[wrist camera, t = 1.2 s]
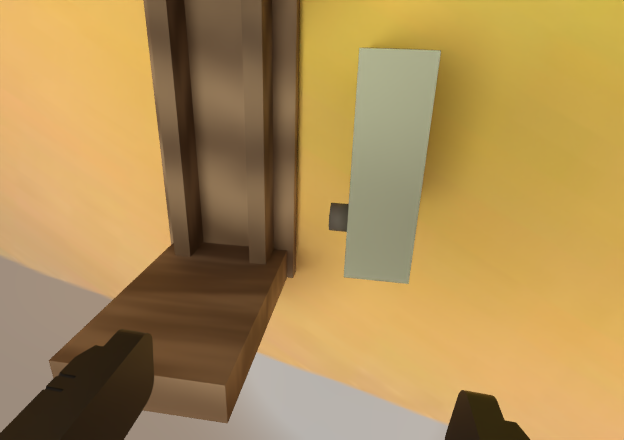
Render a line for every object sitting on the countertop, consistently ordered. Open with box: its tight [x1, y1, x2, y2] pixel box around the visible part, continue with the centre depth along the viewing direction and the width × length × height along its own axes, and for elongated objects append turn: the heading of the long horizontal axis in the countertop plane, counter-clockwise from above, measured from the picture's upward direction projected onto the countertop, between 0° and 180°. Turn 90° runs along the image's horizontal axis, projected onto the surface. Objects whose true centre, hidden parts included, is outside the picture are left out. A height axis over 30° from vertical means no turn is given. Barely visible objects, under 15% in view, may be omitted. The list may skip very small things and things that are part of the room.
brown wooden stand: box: [49, 0, 300, 423], centre depth 23 cm, size 22×10×15 cm, turn 178°
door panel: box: [329, 48, 441, 284], centre depth 23 cm, size 10×4×12 cm, turn 178°
